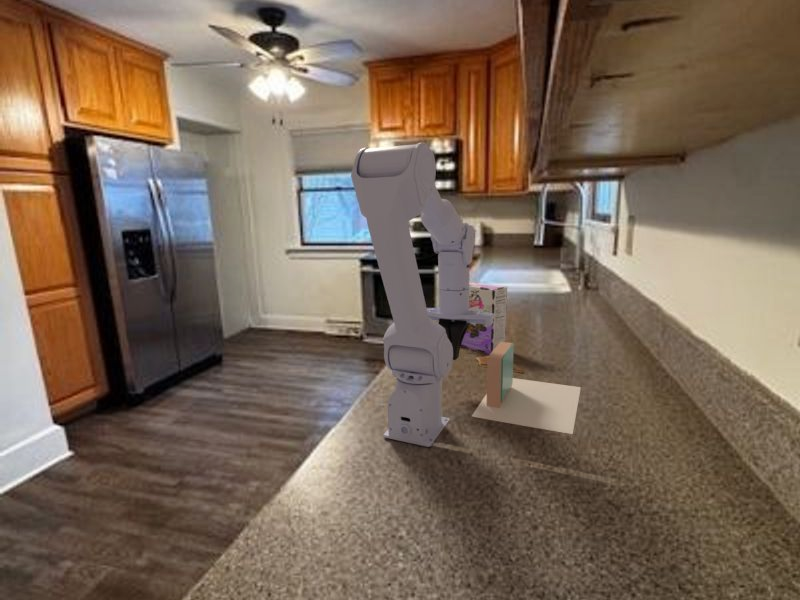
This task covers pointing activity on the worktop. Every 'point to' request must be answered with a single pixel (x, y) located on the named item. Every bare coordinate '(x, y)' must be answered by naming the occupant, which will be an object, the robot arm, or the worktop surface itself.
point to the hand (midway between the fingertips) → (453, 358)
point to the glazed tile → (499, 373)
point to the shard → (484, 364)
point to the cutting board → (535, 406)
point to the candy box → (489, 302)
